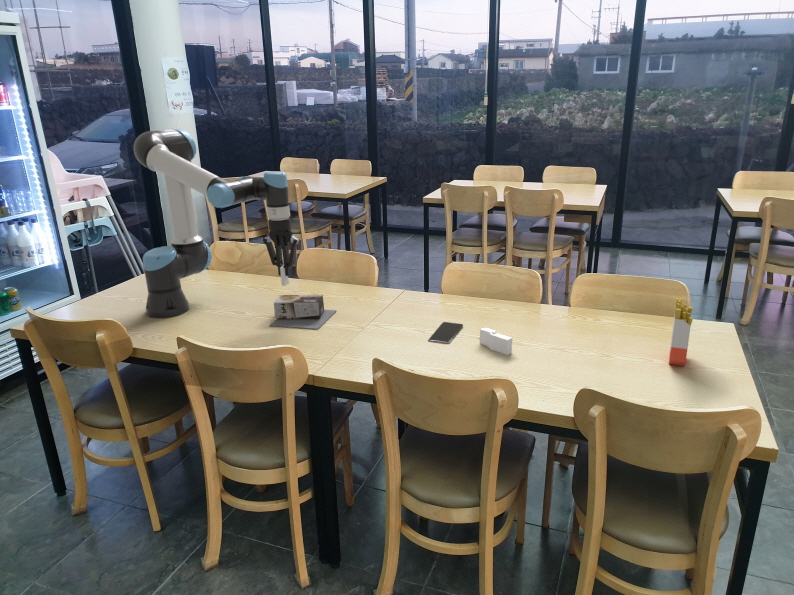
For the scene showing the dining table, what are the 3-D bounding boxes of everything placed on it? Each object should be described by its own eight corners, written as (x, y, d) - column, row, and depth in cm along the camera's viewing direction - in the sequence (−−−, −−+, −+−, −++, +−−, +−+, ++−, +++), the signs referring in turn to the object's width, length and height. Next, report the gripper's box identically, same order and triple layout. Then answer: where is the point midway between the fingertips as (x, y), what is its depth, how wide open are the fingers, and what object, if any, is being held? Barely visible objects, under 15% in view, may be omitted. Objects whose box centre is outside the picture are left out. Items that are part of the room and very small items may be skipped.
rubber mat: (269, 326, 211) (269, 324, 211) (291, 308, 227) (291, 307, 227) (318, 329, 206) (318, 328, 206) (336, 311, 223) (336, 310, 223)
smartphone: (427, 339, 194) (443, 321, 208) (427, 343, 195) (443, 324, 209) (449, 342, 192) (463, 323, 206) (449, 345, 192) (463, 326, 206)
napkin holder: (520, 357, 182) (520, 339, 180) (482, 359, 182) (482, 342, 180) (507, 338, 196) (508, 321, 195) (472, 340, 196) (472, 323, 194)
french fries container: (686, 355, 179) (694, 297, 173) (686, 370, 170) (694, 309, 164) (669, 352, 181) (676, 295, 175) (668, 367, 172) (675, 307, 166)
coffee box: (274, 319, 215) (320, 319, 214) (273, 302, 213) (318, 302, 212) (281, 311, 224) (324, 311, 223) (279, 294, 222) (323, 294, 221)
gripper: (256, 220, 205) (263, 286, 213) (292, 221, 202) (298, 288, 209) (266, 215, 212) (273, 280, 219) (301, 216, 208) (306, 282, 216)
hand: (285, 284), depth 214 cm, fingers closed
